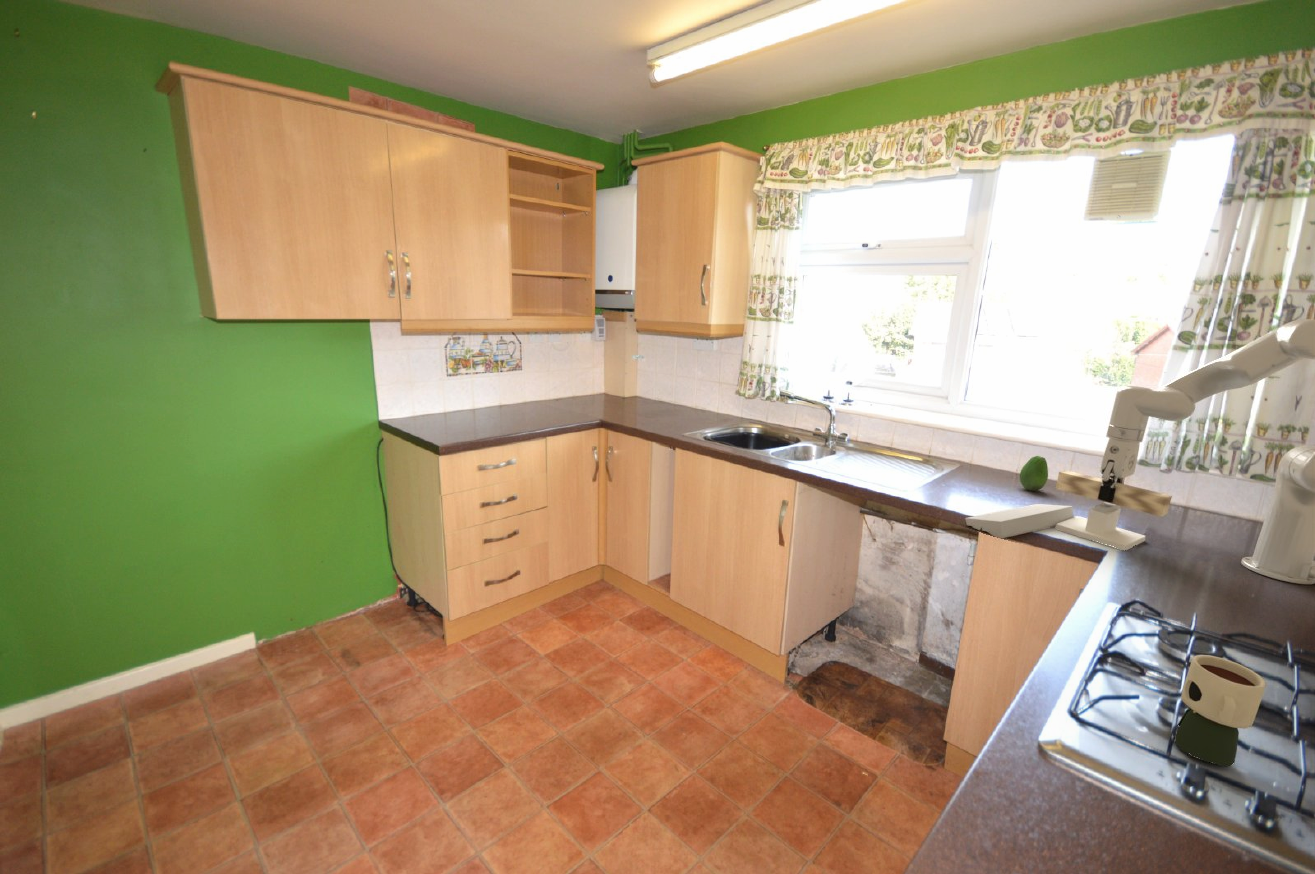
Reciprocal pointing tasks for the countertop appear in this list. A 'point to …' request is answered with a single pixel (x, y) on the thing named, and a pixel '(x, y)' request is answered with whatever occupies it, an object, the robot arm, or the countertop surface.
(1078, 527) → the balance stand
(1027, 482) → the fruit
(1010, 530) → the white flat block
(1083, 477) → the beech batten
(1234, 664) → the character mug
